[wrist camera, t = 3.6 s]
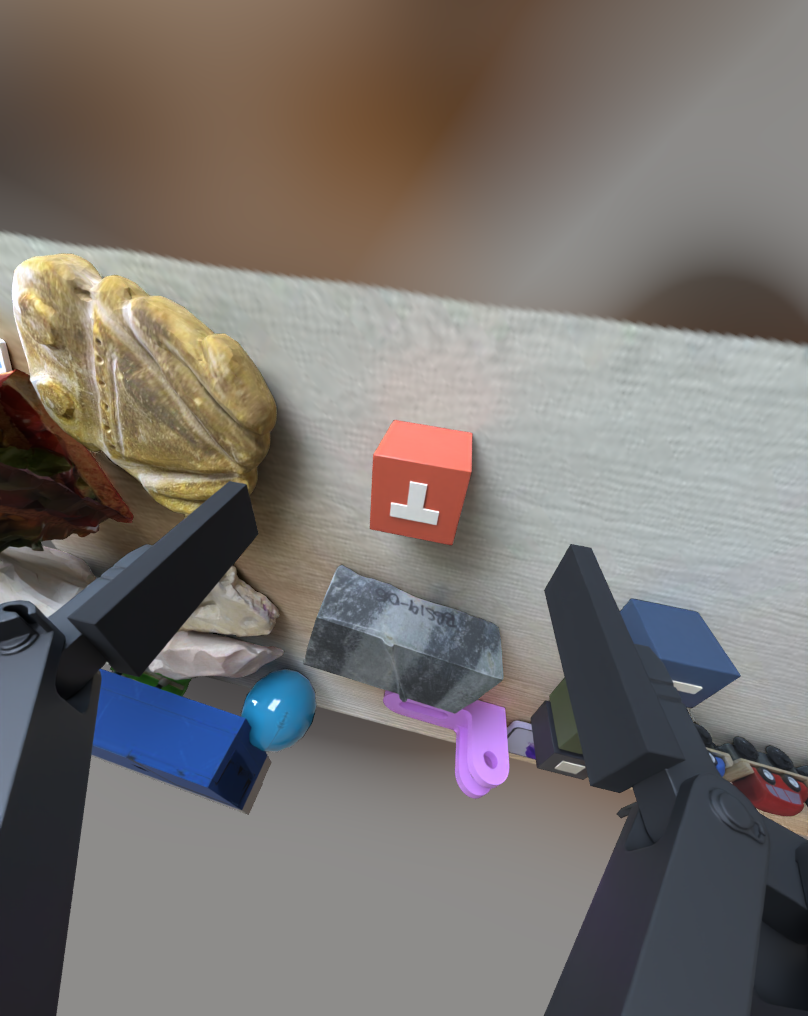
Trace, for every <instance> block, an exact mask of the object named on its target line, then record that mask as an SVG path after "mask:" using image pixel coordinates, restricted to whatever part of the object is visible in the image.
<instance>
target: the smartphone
mask: <svg viewBox="0 0 808 1016" xmlns="http://www.w3.org/2000/svg"><path fill="white" fill-rule="evenodd" d="M507 741H508V752H509V753H513V754H516V755H520V756H524V757H528V758H531V759H535V760H536V757H535V749H534V741H533V733H532V725H531V724H530V723H526V722H523V721H513V722H512V723H511V724H510V725H509V727H508V728H507Z"/></svg>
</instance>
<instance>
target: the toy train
mask: <svg viewBox="0 0 808 1016" xmlns="http://www.w3.org/2000/svg"><path fill="white" fill-rule="evenodd" d="M694 725H695V727H696V729H697V731H698V733H699V735H700V737H701V739H702V741H703V743H704V745H705V747H706V749H707V751H708V753H709V755H710V757H711V759H712V761H713V763H714V765H715V766H716V768H717V770H718V771H719V773H720V775H721V776H722V778H724V779H725V780H727V781H728V782H732V784H733V785H734V786H736V787H737V788H738V789H739V790H740V791H741V792H742V793H743V794H744V795H745V796H746V797H747V798H748V799H749V800H750V801H751V803H752V804H753V805H754V807H755V808H757V809H760V810H762V811H764V812H768V813H771V814H775V815H780V816H794V815H796V814H798V813H800V812H801V811H802V810H803V808H804V804H803V803H804V802H805V804H806V805H807V806H808V766H807V765H806V766H801V767H797V768H795V767H793V766H794V765H793V762H792V761H791V760H790V758H789V757H788V756H787V755H786V754H785V753H784V752H782V751H781V750H780V749H778V748H776V747H774V746H768V747H767V748H766V752H767V754H765V753H761V752H758V751H757V750H756V749H755V748H754V746H753V745H752V744H751V743H749V742H748V741H747V740H745V739H744V738H741V737H735V738H734V739H733V744H734V745H733V744H729V743H726V744H723V745H721V746H716V745H715V744H714V743H713V742H712V737H711V735H710V734H709V732H708V731H707V730H705V729H704V728H703V727H702V726H700V725H698V724H695V723H694Z"/></svg>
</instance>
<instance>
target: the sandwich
mask: <svg viewBox="0 0 808 1016" xmlns="http://www.w3.org/2000/svg"><path fill="white" fill-rule="evenodd" d="M108 518H111V519H114V520H115V521H117V522H123V523H132V520H133V514H132V513H131V512H130V510H129V508H128V506H127V505H126V503H124V502H123V501H122V498H121V497H120V495H119V494H118V492H117V491H116V490H115V488H114V487H113V485H112V484H111V483H110V481H109V480H108V479H107V477H106V475H105V474H104V472H103V471H102V470H101V468H100V466H99V465H98V463H97V462H96V461H95V459H94V458H93V456H92V455H91V454H90V452H89V451H88V450H87V449H86V447H84V446H83V445H82V444H80V443H79V442H77V441H76V440H75V439H73V438H72V437H71V436H69V435H68V434H67V433H66V432H64V431H63V430H62V429H61V428H60V427H59V426H58V424H57V423H56V422H55V421H54V420H53V419H52V418H51V417H50V416H49V414H48V413H47V411H46V409H45V407H44V405H43V404H42V402H41V400H40V398H39V396H38V394H37V392H36V390H35V388H34V386H33V384H32V382H31V380H30V376H29V375H28V374H26V373H24V372H22V371H20V370H17V369H14V370H12V371H10V372H5V373H0V553H1V552H2V551H4V550H5V549H7V548H8V547H16V548H21V547H25V546H26V547H29V548H32V550H34V551H44V549H43V547H42V544H41V541H45V540H53V539H59V540H63V539H65V538H67V537H68V536H70V535H71V534H72V533H75V534H78V536H79V537H85V536H87V535H89V534H90V533H96V532H97V531H99V524H100V523H101V522H103V521H105V520H107V519H108Z"/></svg>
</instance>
